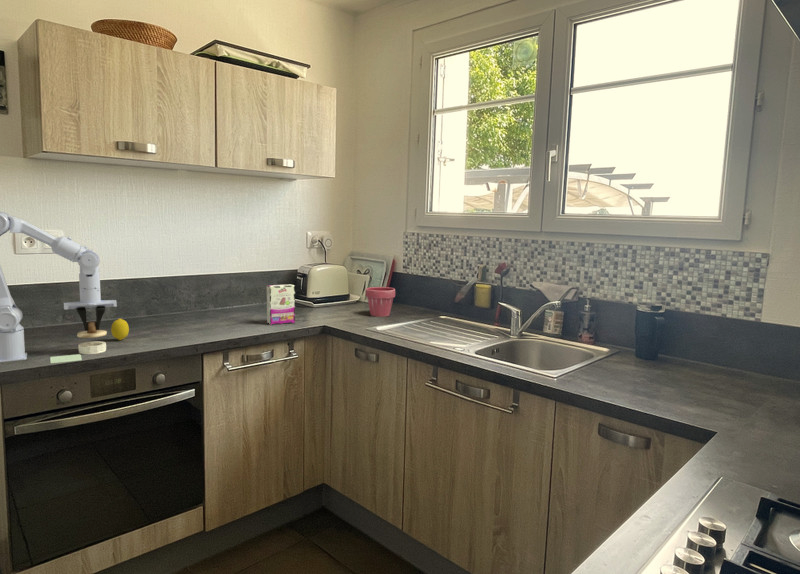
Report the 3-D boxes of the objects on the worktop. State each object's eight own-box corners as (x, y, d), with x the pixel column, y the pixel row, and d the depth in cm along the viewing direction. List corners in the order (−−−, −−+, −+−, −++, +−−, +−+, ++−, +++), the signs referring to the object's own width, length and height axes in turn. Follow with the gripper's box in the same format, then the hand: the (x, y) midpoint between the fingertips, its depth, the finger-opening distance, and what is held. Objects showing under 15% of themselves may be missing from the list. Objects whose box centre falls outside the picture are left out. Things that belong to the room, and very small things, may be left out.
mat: (50, 364, 158) (50, 363, 158) (50, 357, 165) (50, 357, 165) (82, 360, 163) (82, 359, 162) (80, 355, 169) (80, 354, 169)
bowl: (79, 356, 168) (79, 347, 168) (78, 350, 174) (77, 342, 174) (107, 353, 172) (106, 345, 172) (104, 348, 178) (104, 340, 178)
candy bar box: (291, 321, 235) (291, 283, 233) (295, 323, 230) (295, 285, 228) (266, 323, 229) (266, 284, 226) (270, 325, 224) (270, 286, 222)
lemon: (109, 342, 186) (109, 320, 185) (113, 339, 191) (112, 317, 190) (127, 342, 188) (126, 319, 187) (130, 338, 193) (130, 316, 192)
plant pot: (358, 314, 256) (359, 287, 255) (381, 311, 266) (382, 286, 264) (378, 319, 246) (378, 291, 244) (400, 316, 255) (401, 289, 254)
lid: (77, 338, 167) (76, 325, 166) (77, 333, 174) (76, 320, 173) (107, 336, 171) (106, 323, 170) (106, 331, 178) (105, 318, 177)
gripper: (63, 290, 163) (65, 334, 165) (117, 288, 171) (118, 330, 173) (62, 287, 169) (64, 330, 171) (114, 285, 177) (116, 326, 179)
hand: (91, 330), depth 172 cm, fingers closed on lid, 3 cm apart
